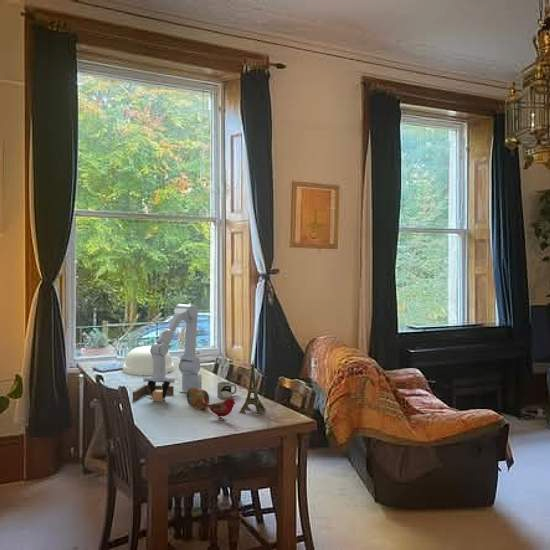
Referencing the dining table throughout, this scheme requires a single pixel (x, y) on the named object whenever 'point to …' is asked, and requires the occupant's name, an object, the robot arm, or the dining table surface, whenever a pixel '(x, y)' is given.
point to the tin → (197, 398)
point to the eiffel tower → (254, 399)
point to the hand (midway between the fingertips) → (158, 397)
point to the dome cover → (144, 362)
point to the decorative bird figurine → (221, 407)
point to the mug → (225, 390)
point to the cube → (158, 395)
